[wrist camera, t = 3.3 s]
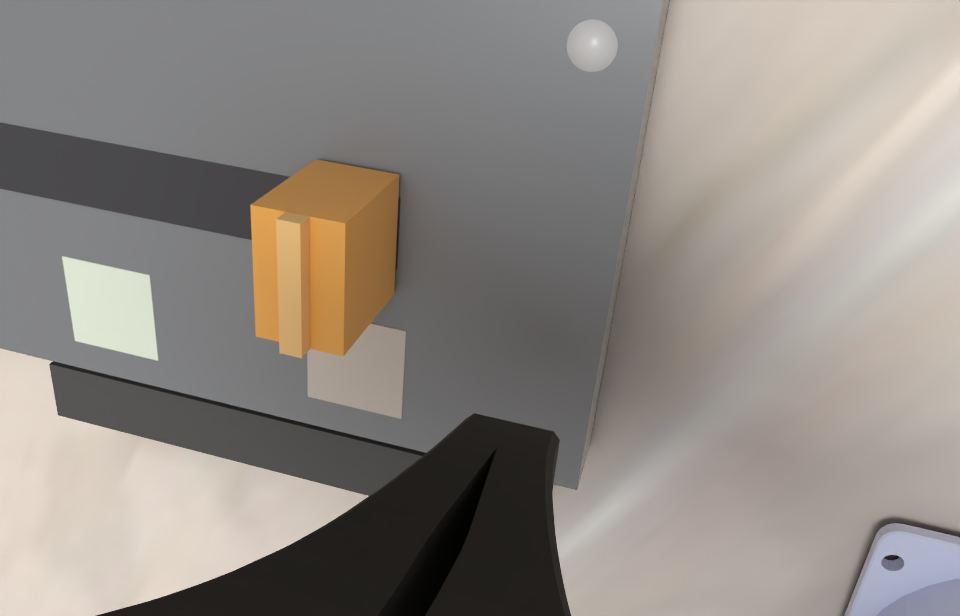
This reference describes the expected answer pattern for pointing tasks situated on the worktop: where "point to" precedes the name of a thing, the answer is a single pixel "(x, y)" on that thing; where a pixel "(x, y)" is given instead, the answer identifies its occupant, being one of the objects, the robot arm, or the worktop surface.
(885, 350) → the worktop surface
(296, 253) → the knob
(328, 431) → the dark grey flat bars
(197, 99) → the panel
